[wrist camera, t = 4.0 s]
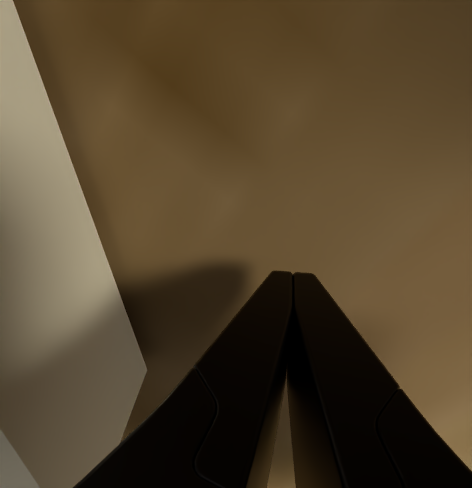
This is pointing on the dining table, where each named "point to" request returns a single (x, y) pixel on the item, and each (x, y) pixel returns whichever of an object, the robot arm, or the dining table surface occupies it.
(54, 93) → the dining table surface
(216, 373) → the robot arm
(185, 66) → the dining table surface
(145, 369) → the white flat slab piece
